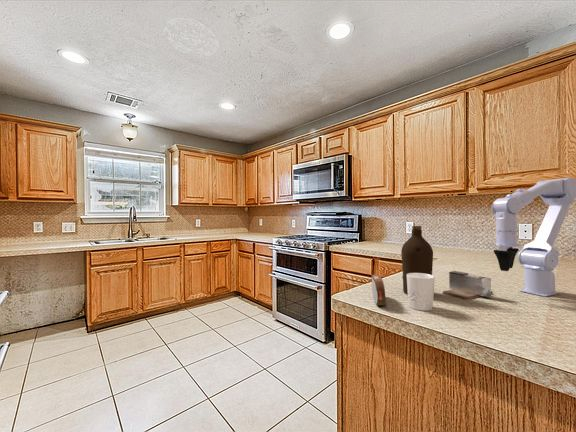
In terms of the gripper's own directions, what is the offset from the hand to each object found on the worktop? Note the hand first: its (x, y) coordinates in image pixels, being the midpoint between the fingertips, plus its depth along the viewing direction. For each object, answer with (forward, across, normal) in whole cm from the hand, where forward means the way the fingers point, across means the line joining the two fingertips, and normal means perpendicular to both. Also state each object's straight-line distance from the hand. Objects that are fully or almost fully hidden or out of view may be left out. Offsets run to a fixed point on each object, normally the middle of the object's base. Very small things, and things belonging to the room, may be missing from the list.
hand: (506, 269), depth 95 cm
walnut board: (+9, -7, +10) cm, 16 cm away
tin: (+10, -39, +28) cm, 49 cm away
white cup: (+10, -35, +16) cm, 39 cm away
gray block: (+9, -7, +10) cm, 15 cm away
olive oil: (+10, -20, +23) cm, 32 cm away
